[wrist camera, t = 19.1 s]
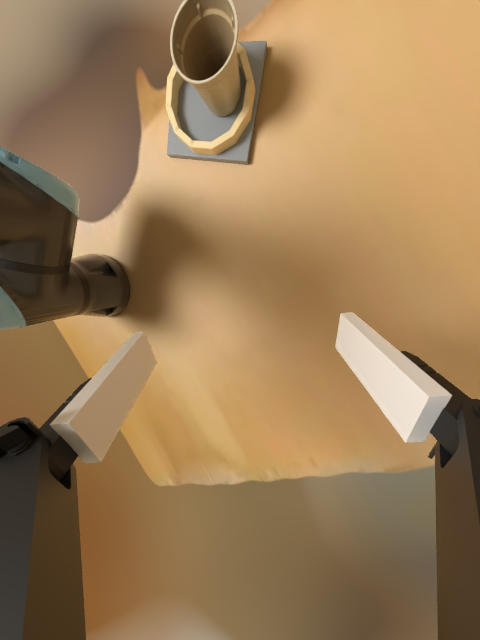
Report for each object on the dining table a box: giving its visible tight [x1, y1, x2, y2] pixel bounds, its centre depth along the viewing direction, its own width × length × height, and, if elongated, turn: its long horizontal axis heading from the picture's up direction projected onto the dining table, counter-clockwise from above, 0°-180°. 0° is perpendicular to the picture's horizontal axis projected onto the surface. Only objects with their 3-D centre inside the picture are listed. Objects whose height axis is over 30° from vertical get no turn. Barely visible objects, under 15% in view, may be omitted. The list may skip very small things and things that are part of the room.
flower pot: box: [170, 0, 241, 117], centre depth 29 cm, size 9×9×9 cm
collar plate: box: [166, 41, 267, 164], centre depth 33 cm, size 16×16×3 cm
